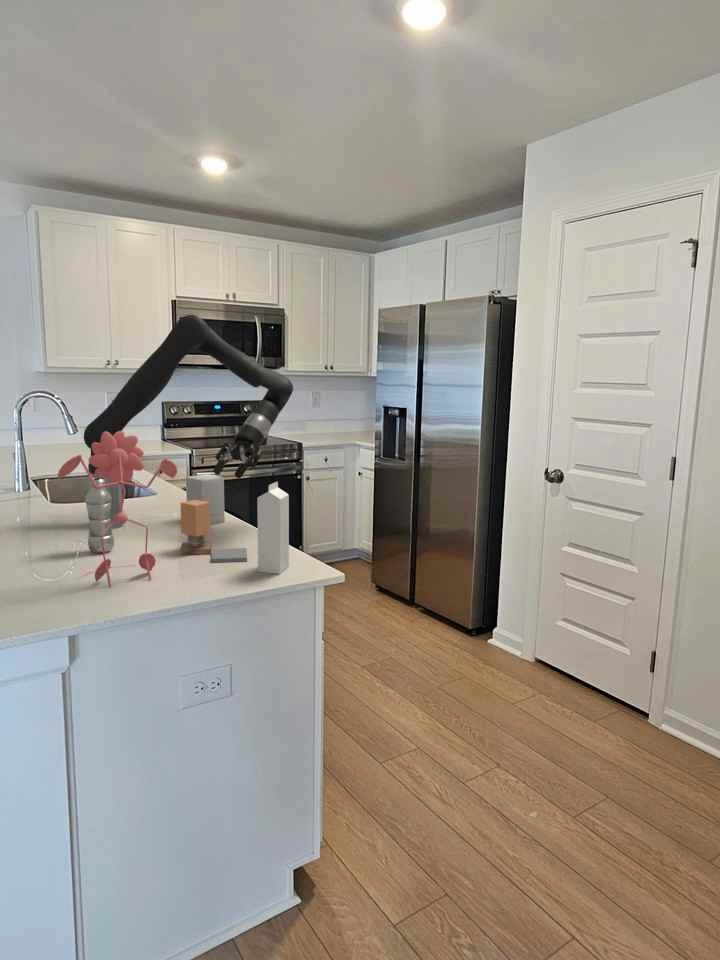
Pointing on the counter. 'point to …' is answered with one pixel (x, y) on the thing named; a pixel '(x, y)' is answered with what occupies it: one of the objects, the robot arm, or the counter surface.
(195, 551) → the post stand
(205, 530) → the tall orange box
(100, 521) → the plastic bottle
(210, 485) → the supplement box
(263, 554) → the milk
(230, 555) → the mat
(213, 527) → the counter surface
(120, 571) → the counter surface
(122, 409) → the robot arm
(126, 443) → the figurine
